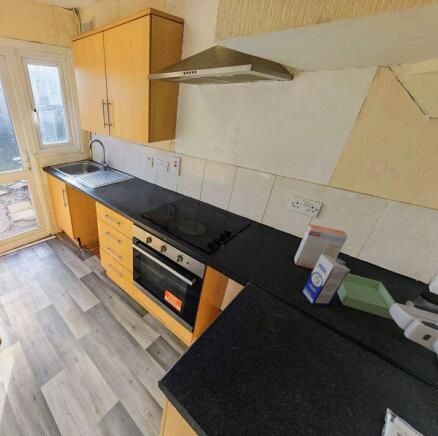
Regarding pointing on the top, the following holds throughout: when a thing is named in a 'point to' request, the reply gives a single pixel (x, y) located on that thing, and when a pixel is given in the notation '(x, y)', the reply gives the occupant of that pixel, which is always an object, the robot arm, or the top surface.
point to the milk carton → (325, 280)
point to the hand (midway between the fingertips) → (422, 306)
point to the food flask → (427, 302)
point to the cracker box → (319, 245)
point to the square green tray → (366, 295)
